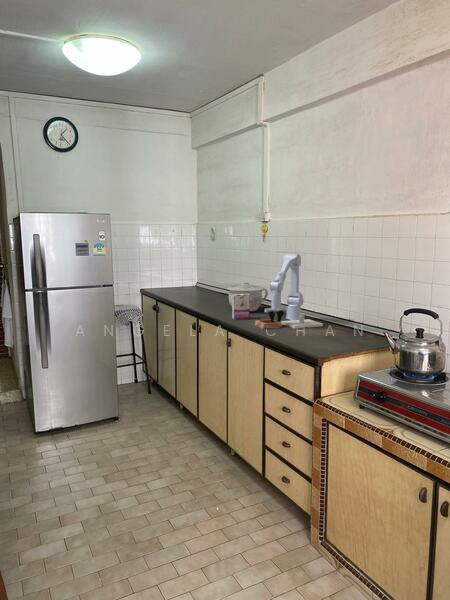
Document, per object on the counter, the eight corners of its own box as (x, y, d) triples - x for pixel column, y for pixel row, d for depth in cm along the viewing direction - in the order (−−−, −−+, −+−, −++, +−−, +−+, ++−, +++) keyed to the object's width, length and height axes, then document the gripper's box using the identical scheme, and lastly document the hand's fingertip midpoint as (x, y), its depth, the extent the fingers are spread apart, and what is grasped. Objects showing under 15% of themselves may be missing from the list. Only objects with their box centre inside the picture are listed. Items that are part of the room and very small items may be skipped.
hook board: (281, 323, 287) (281, 313, 286) (308, 321, 295) (308, 311, 294) (294, 328, 272) (294, 317, 271) (322, 326, 280) (323, 315, 279)
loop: (254, 325, 281) (254, 320, 281) (272, 323, 286) (272, 319, 285) (263, 329, 270) (263, 324, 270) (281, 327, 275) (281, 322, 274)
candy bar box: (247, 317, 306) (248, 293, 304) (250, 319, 302) (250, 294, 299) (231, 318, 303) (231, 293, 301) (233, 319, 299) (234, 294, 296)
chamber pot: (221, 312, 325) (221, 283, 322) (233, 306, 351) (233, 280, 348) (259, 315, 316) (260, 285, 313) (268, 309, 342) (269, 281, 339)
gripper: (268, 302, 271) (268, 325, 273) (289, 301, 277) (289, 323, 279) (263, 301, 278) (262, 323, 280) (284, 300, 283) (283, 321, 285)
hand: (275, 323), depth 280 cm, fingers open, 4 cm apart
